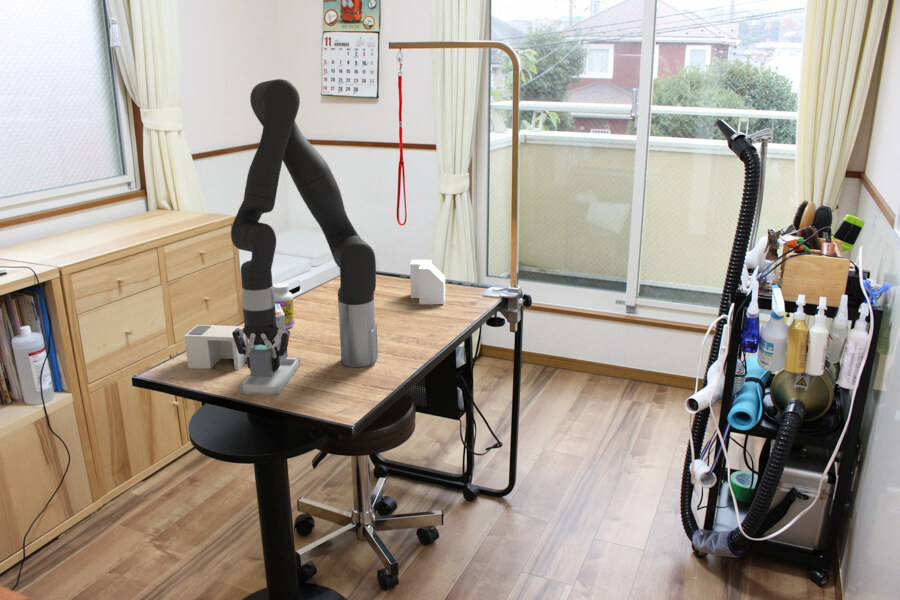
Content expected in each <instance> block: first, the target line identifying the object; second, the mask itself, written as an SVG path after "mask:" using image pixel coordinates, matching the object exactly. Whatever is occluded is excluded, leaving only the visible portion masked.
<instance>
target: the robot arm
mask: <svg viewBox="0 0 900 600" xmlns="http://www.w3.org/2000/svg"><path fill="white" fill-rule="evenodd" d="M249 96H250V107H251V108H252V109H251V110H252V112H253V113H254V115H255V117H256V118H257V120H258V121H259V123H260V124H261V126H262V133H261V137H260V141H259V144H258V147H257V149H256V152H255V154H254V156H253V159H252V161H251V164H250V166H249V168H248V172H247V178H246V183H245V188H244V194H243V195H244V196H243V201H242V203H241V204H240V207H239V208H238V211H237V213H236V215H235V217H234V220H233V223H232V225H231V229H230V237H231V242H232V245H233V246H234V247H235V248H236V249H238V250H241V251H245V252H249V253H251V259H250V260H246V261H245V262H243V263H242V264H241V266H240V279H241V280H240V281H241V282H240V283H241V305H242V315H243V324H244V325H243V326H244V328H243V329H239V328H237V329H235V330H234V331H233V333H232V335H233V338H234V341H235V344H236V347H237V350H238V353H239V354H244V355H246V356H247V361H246V363H247V368H248V369H250V359H249V353H250V352H251V351H252V350H253V348H255V346H256V345H264V346H266V347H267V349H268V350H269V351H270V352H271V356H272V371H273V372H276V371H277V370H278V368H279V367H280V358H279V356H283V355H284V354H285V352H286V351H287V352H288V346H289V345H288V344H289V340H290V335H291V331H290V330H288V329H286V331H282V330H279V329H278V327H277V325H276V310H275V297H274V291H273V285H274V284H273V274H272V268H273V263H274V258H275V252H276V248H277V235H276V233H275V230H274V228H273V226H271V225H269V224H267V223H263V222H260V219H261V217H262V215H263V214H267V213H270V212H272V211H273V210H274V208H275V203H276V198H277V192H278V185H279V180H280V175H281V171H282V170H281V169H282V166H283V164H284V166H285V168H286V170H287V171H288V174H289V175H290V178H291V179H292V182H293V183H294V185H295V187H296V189H297V191H298V193H299V195H300V197H301V199H302V200H303V202H304V204H305V205H306V207H307V208H308V211H309V212H310V213H311V215H312V217H313V218H314V219H315V221H316V222H317V224H318V225H319V227H320V228H321V231H322V233H323V235H324V237H325V240H326V243H327V244H328V247H329V250H330V253H331V256H332V258H333V260H334V262H335V264H336V265H337V267H338V268H339V280H340V283H339V284H340V285H339V289H338V290H337V301H338V302H337V303H338V304H337V305H338V322H339V324H338V325H339V339H340V340H339V342H340V357H341V359H340V360H341V364H342V365H344V366H346V367H350V368H365V367H368V366H375V364H376V362H377V359H378V358H379V349H378V347H379V346H378V326H377V325H378V324H377V323H376V321H375V320H376V317H375V316H376V315H375V291H376V287H377V265H376V263H377V262H376V255H375V252H374V250H373V248H372V247H371V245H370V244H368V243H367V242H366V241H365V240H363V239H362V238H361V236H360V235H359V234H358V232H357V230H356V229H355V227H354V225H353V224H352V222H351V221H350V219H349V217H348V214H347V212H346V209H345V205H344V199H343V197H342V193H341V190H340V188H339V185H338V183H337V181H336V178H335V176H334V175H333V174H334V173H333V172H332V170H331V168H330V167H329V164H328V163H327V161H326V160H325V159H324V156H322V154H320V153H319V151H318V150H317V149H316V147H314V146H313V145H312V144H311V143H310V142H309V139H307V138H306V136H305V135H304V134H303V133H302V131H301V129H300V128H299V126H298V124H297V122H296V119H297V115H298V112H299V108H300V103H301V100H300V99H301V98H300V94H299V91H298V89H297V87H296V86H295V85H294V84H293V83H292V82H291V81H289V80H286V79H282V78H280V79H279V78H278V79H271V80H266V81H262V82H260V83H257V84H256V85H255V86H254V87H253V88H252V90H251V92H250V95H249ZM244 334H245V335H246V336H247V338H248V346H247V348H246V345H245V342H244V339H243V336H244ZM276 335H279V339H280V340H281V344H280V349H278V347H277V342H276V340H275V337H276Z"/></svg>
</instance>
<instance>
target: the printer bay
mask: <svg viewBox="0 0 900 600" xmlns="http://www.w3.org/2000/svg"><path fill="white" fill-rule="evenodd" d="M237 328H239V329H243V328H244V325H243V326H242V325H216V324H215V325H212V324H211V325H210V324H196V325H195V326H194V327H192V329H191V330H189V331H188V332H187V333H185V334H184V336H183V337H184V345H185V353H186V360H187V368H188V369H203V370H206V369H207V370H211V369H212V368H213V367H214V366H215V365H216V364H217V363H219V361H220V360H221V359H230V360H231V359H232V360H233V363H234V370H235V371H238V370H241V368H242V367H243V366H244V365H245V363H247V356H246V355H244V354H239V353H238V350H237V347H236V344H235V341H234V338H233V335H232V333H233V331H234V330H235V329H237ZM243 339H244V342H245V345H246V348H247V346H248V343H249V339H248V338H247V336H246V335H245V334H244V336H243Z"/></svg>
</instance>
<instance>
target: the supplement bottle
mask: <svg viewBox="0 0 900 600" xmlns="http://www.w3.org/2000/svg"><path fill="white" fill-rule="evenodd" d="M272 285H273V291H274V297H275V304H280V306H281V308H282V310H283V312H284V314H285V329H286V330H288V329H291V328H292V327H294V325H295V309H294V308H295V307H294V296H293V293H292V292H290V291H289V289H290V285H289V283H286V282H277V283H274V284H272Z"/></svg>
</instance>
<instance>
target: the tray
mask: <svg viewBox="0 0 900 600" xmlns="http://www.w3.org/2000/svg"><path fill="white" fill-rule="evenodd" d="M300 367H301V358H300V357H287V358H286V359H285V360H284V362H283V363H282V364H281V365H280V367H279V368H278V370H277V371H276V372H275V373H274V374H273V375H272V376H271V377H259V376H251V372H250V373H249V375H248V376H247V377H246V378H245V379H244V380H243V381H242V383H241V384H240V385H239V391H240V394H241V393H249V394H248V395H265V394H271V396H280V395H281V393H282V392H283V390H284V389H285V387H286V386H287V385H288V384H289V382H290V380H291V379H292V378H293V376H294V375H295V373H296V372H297V371H298V369H299V368H300Z"/></svg>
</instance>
